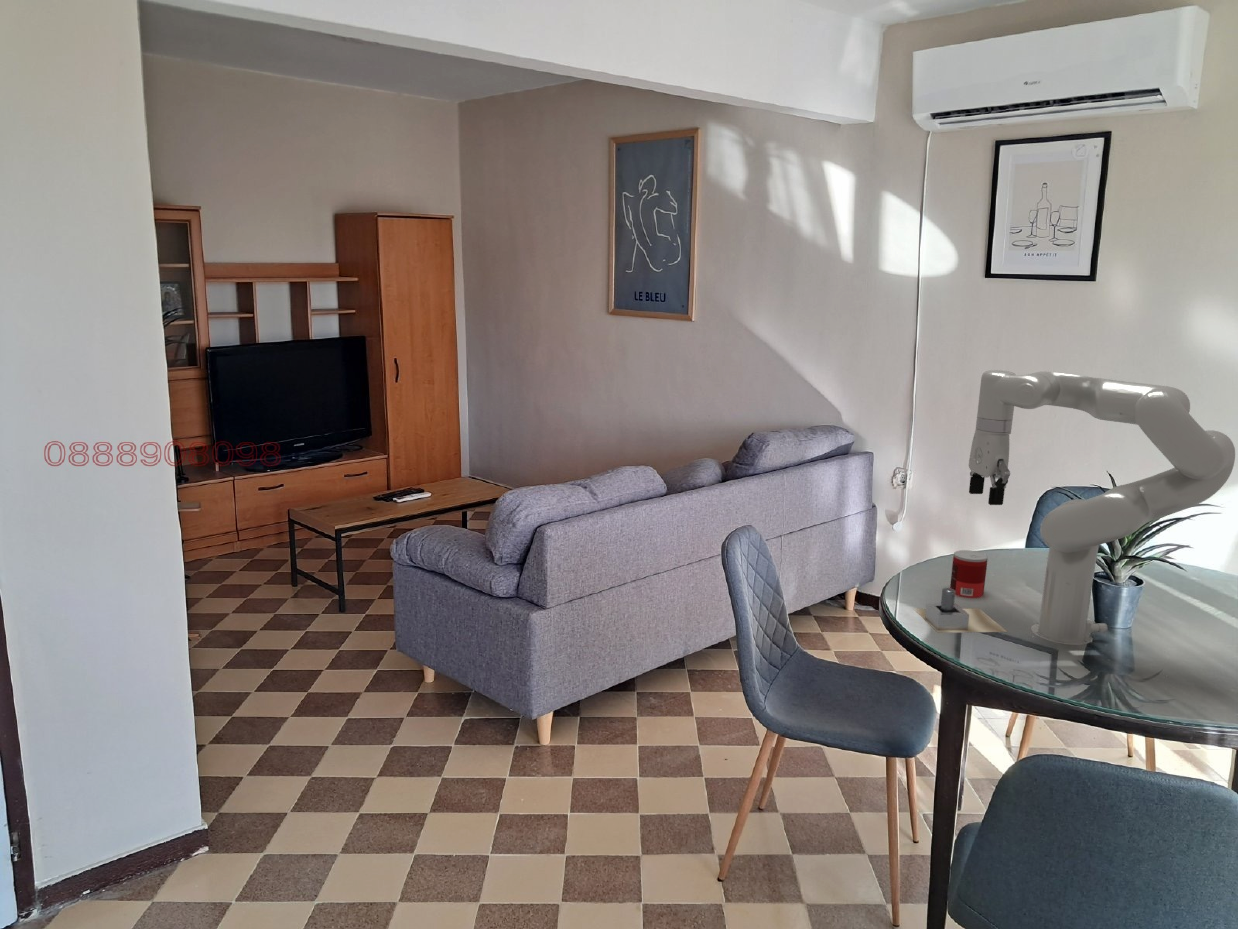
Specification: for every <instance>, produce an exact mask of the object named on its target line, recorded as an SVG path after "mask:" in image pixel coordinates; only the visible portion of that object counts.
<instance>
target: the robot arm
mask: <svg viewBox="0 0 1238 929" xmlns="http://www.w3.org/2000/svg"><path fill="white" fill-rule="evenodd" d="M1043 406H1054V407H1059V408H1066V409H1067V408H1068V409H1073V410H1078V411H1083V412H1084V413H1087V414H1089V415H1090V416H1091V417H1092V418H1094V419H1098V420H1102V421H1106V422H1115V423H1124V424H1128V425H1129V424H1131V425H1136V426H1138V427H1139V429H1140V430H1141V431H1142V432H1143V434H1144V435H1145V436H1146V437H1147V438H1148V439H1149V441H1150V442H1151V443H1152V444H1153V445H1154V447H1155V448H1156V449H1158V451H1159V452H1160V453H1161V454H1162V456H1164V457H1165V458H1166V459H1167V461H1168V462H1169V463H1170V464H1171V465H1172V466H1173V468H1170V469H1168V470H1165V471H1162V472H1159V473H1156V474H1154V475H1152V476H1149V477H1146V478H1143V479H1140V480H1136V481H1133V482H1128V483H1125V484H1120V485H1117V486H1114V487H1112V488H1110V489H1109V490H1107V491H1105V492H1104V493H1102V494H1098V495H1097V496H1093V497H1090V498H1088V499H1080V498H1075V499H1069V500H1067V501H1065V502H1063V503H1061V504H1060V505H1058V506H1057V507H1055V508H1054V509H1052V510H1050V511H1049V512H1048V513H1047V514H1046V515H1045V516H1044V517H1043V519H1042V521H1041V524H1040V528H1039V531H1040V536H1041V540H1042V541H1043V542H1044V544H1045V545H1046V546H1047V547H1048V548H1049V550H1048V554H1047V560H1046V568H1045V573H1044V575H1045V576H1044V582H1043V588H1042V589H1043V590H1042V597H1041V599H1042V600H1041V603H1040V604H1041V605H1040V612H1039V620H1038V623H1037V622H1036V623H1034V624H1033V625H1031V626H1030V630H1031V632H1032V633H1033V634H1035V635H1036V636H1038V637H1040V638H1042V639H1044V640H1047V641H1050V642H1053V643H1058V644H1062V645H1063V644H1064V645H1075V646H1076V645H1085V644H1089V643H1093V636H1092V635H1091V634H1094V633H1096V632H1097V633H1107V632H1108V629H1109V628H1108V625H1107V623H1106V622H1105V623H1103V622H1101V623H1096V622H1095V620H1094V619H1093V620H1092V619H1091V620H1088V617H1089V612H1090V611H1089V610H1090V605H1091V604H1090V603H1091V595H1092V589H1093V584H1094V583H1093V582H1094V576H1095V571H1096V564H1097V563H1096V562H1097V558H1098V557H1097V556H1098V552H1099V548H1100V545H1102V544H1103V545H1104V544H1107V543H1110V542H1114V541H1117V540H1119V539H1122V538H1126V537H1127V536H1130V535H1132V534H1133V533H1135V532H1136V531H1138V530H1139V529H1140V528H1141V527H1143V526H1144V525H1146V524H1147V523H1149V522H1152V521H1155V520H1158V519H1161V518H1165V517H1167V516H1170V515H1173V514H1175V513H1178V512H1182V511H1184V510H1187V509H1188V510H1189V509H1190V508H1192V507H1193V508H1194V507H1196V506H1197V505H1200V504H1201V503H1203V502H1205V501H1207V500H1209V499H1210V498H1212V497H1213V496H1214V495H1215V494H1216V493H1217V492H1219V491H1220V490H1221V489H1222V487H1224V485H1225V484H1226V483H1227V481H1228V480H1229V478H1230V476H1231V474H1232V472H1233V469H1234V466H1235V460H1236V448H1235V445H1234V442H1233V441H1232V439H1231V438H1230V437H1229V436H1228V435H1227V434H1226V433H1223V432H1221V431H1219V430H1214V429H1213V430H1210V429H1209V430H1205V429H1204V428H1203V427H1202V426H1201V425H1200V424H1199V423H1198V422H1197V420H1195V418H1193V417H1192V415H1191V414H1190V410H1191V401H1190V399H1189V397H1188V395H1187V394H1186V393H1185V392H1184V391H1183V390H1181V389H1179V388H1177V387H1174V386H1167V385H1159V384H1158V385H1157V384H1151V383H1150V384H1149V383H1141V382H1132V381H1123V380H1117V379H1115V380H1114V379H1107V378H1101V377H1093V376H1086V375H1081V374H1080V375H1079V374H1071V373H1063V372H1056V371H1055V372H1054V371H1037V372H1033V373H1027V374H1015V372H1012V371H1009V370H1001V369H1000V370H998V369H995V370H992V369H991V370H986V371H984V372H983V373H982V375H981V379H980V386H979V395H978V405H977V414H976V423H975V430H974V433H973V437H972V441H971V447H970V454H969V460H968V469H969V470H970V472H969V476H970V477H969V478H970V480H969V488H968V493H969V494H970V495H982V494H983V493H984V489H985V488H984V487H985V480H986V478H989V479H990V483H991V486H990V487H989V492H988V505H990V506H1002V505H1003V504H1004V498H1005V497H1004V496H1005V491H1006V490H1005V489H1006V488H1007V484H1008V482H1009V478H1010V476H1011V471H1010V469H1009V459H1010V435H1011V434H1012V429H1013V428H1012V426H1013V419H1014V411H1015V410H1014V409H1015V407H1017V408H1020V409H1024V410H1025V409H1026V410H1035V409H1037V408H1041V407H1043Z"/></svg>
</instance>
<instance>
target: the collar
mask: <svg viewBox="0 0 1238 929" xmlns="http://www.w3.org/2000/svg"><path fill="white" fill-rule="evenodd" d="M940 608H941V602H940V603H926V605H925V609H926V612H925V619H927V620H928V621H929V622H930V623H931V624H932V625H933V626H934V627H935V628H936V629H937V630H968V623H969V614H968V613H967V612H965V611H964V610H963V609H964V608H962V607H961V606H959V605H958V604H957V602H956V603H955V602H954V610H953V613H942V612H941V611H940Z"/></svg>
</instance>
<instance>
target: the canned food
mask: <svg viewBox="0 0 1238 929" xmlns="http://www.w3.org/2000/svg"><path fill="white" fill-rule="evenodd" d="M988 557H989V556H988V555H987V554H985V553H983V552H980V551H976V550H969V549H962V550H956V551H954V553H953V558H952V566H951V574H950V576H951V577H950V584H949V585H950V586H949V588H950V589H954V590H955V596H958V597H962V598H969V599H973V598H974V599H977V598H982V597H983V596H984V593H985V584H986V577H987V569H988V561H989V560H988Z"/></svg>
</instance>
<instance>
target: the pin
mask: <svg viewBox="0 0 1238 929" xmlns="http://www.w3.org/2000/svg"><path fill="white" fill-rule="evenodd" d="M955 600H956V595H955V590H954V589H950V587H948V588H947V587H944V588H942V591H941V600H940V603H941V608H940V611H941V612H942V613H953V610H954V603H955Z"/></svg>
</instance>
